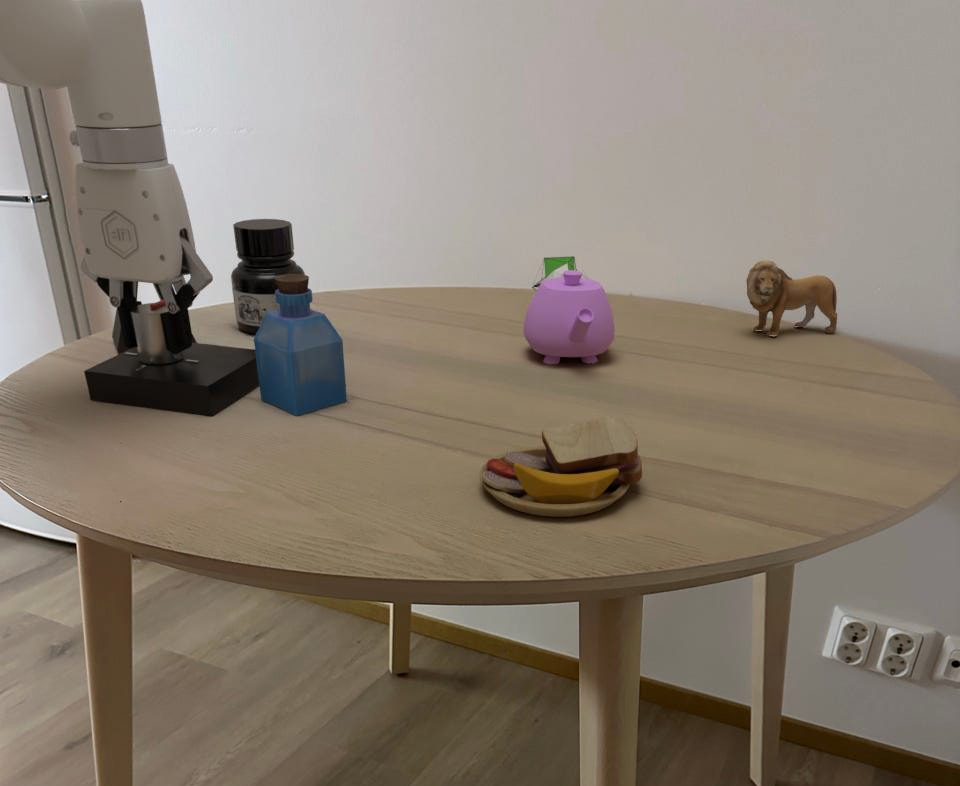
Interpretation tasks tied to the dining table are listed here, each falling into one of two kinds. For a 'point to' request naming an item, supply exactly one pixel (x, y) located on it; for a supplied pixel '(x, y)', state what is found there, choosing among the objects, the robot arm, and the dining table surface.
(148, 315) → the knob
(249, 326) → the ink bottle
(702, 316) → the dining table surface
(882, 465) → the dining table surface
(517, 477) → the toy sandwich meal
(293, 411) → the perfume bottle
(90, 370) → the hob
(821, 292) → the lion figurine
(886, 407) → the dining table surface
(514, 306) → the dining table surface
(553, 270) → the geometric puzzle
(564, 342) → the teapot
